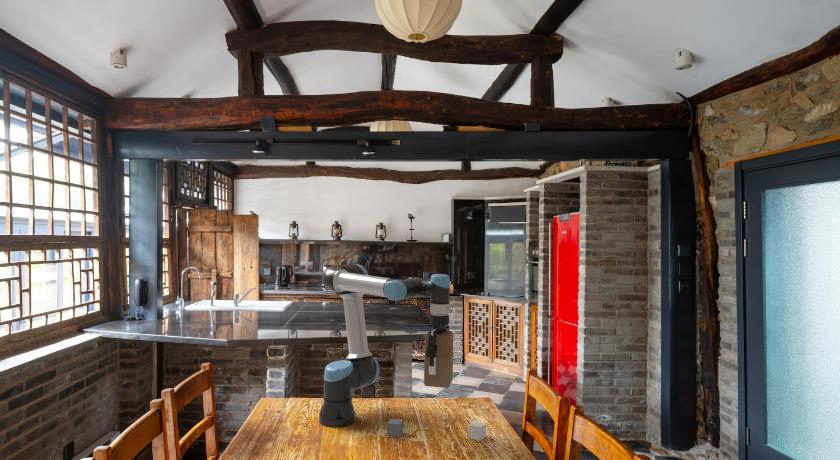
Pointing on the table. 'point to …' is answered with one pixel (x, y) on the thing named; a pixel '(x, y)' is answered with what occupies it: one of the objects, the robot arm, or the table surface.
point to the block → (440, 361)
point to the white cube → (477, 430)
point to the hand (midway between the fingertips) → (438, 370)
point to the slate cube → (395, 427)
